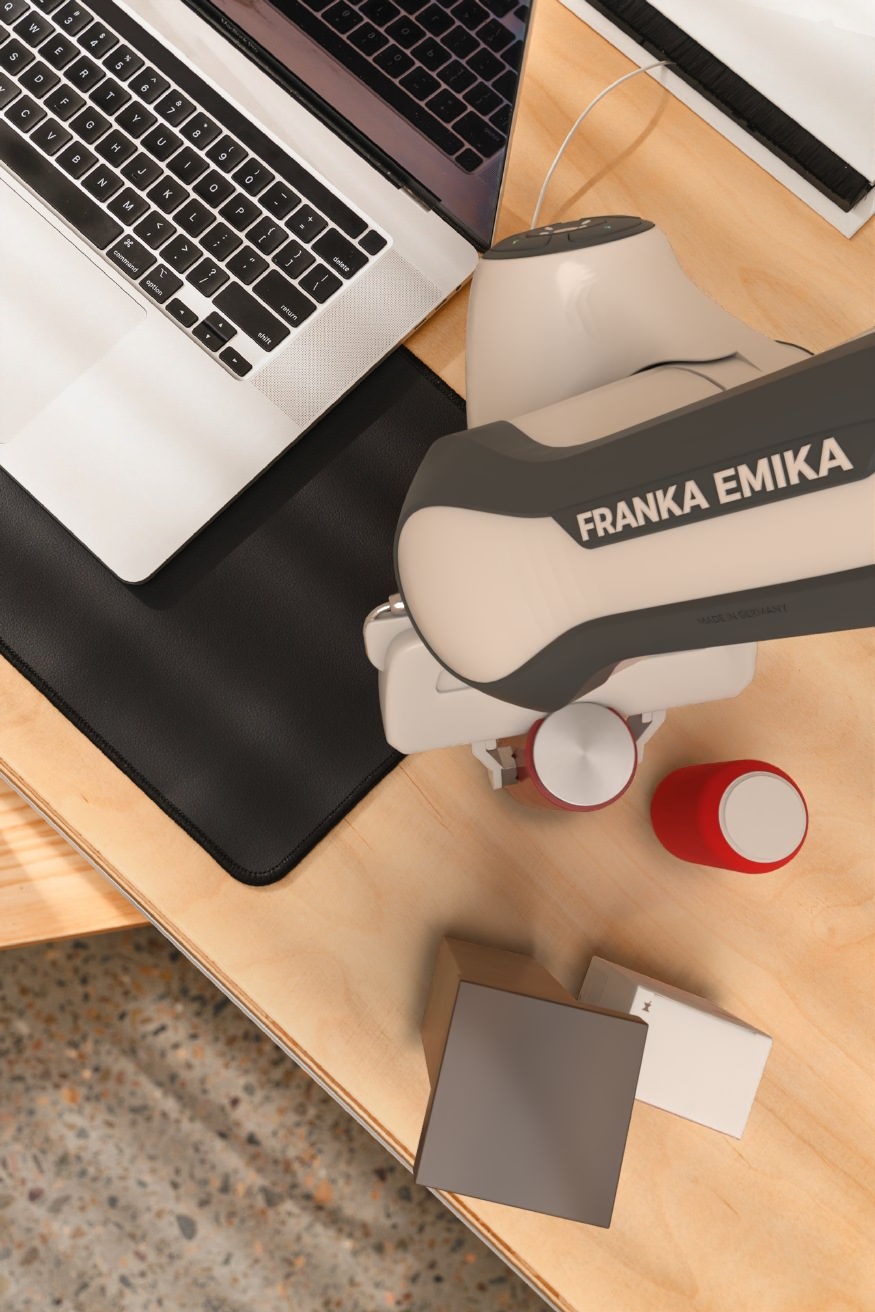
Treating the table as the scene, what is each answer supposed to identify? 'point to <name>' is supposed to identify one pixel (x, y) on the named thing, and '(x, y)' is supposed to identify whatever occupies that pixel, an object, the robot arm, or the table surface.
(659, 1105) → the small box
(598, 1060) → the walnut stand
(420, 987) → the table surface
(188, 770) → the table surface
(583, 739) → the soda can
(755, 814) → the beverage can
